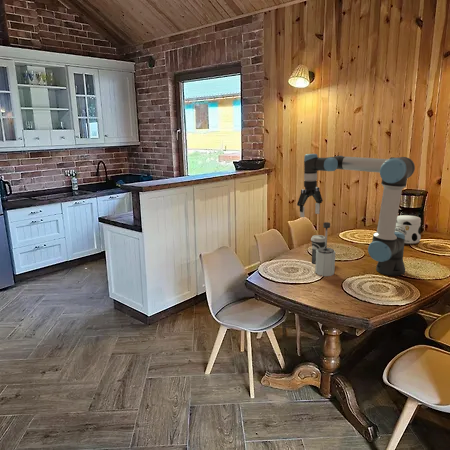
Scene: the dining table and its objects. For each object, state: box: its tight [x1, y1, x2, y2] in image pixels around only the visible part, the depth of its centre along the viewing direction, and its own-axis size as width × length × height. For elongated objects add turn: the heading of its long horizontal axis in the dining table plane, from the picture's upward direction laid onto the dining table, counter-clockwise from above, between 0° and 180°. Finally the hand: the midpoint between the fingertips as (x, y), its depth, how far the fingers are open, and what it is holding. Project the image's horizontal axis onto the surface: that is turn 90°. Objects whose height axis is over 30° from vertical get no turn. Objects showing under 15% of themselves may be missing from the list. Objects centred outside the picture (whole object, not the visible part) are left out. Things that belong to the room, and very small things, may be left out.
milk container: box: [395, 214, 422, 245], centre depth 268 cm, size 17×17×18 cm
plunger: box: [322, 221, 331, 254], centre depth 213 cm, size 7×7×18 cm
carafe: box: [311, 247, 336, 277], centre depth 218 cm, size 13×10×14 cm
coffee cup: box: [310, 234, 325, 262], centre depth 238 cm, size 10×10×15 cm
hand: (309, 215), depth 233 cm, fingers open, 13 cm apart
